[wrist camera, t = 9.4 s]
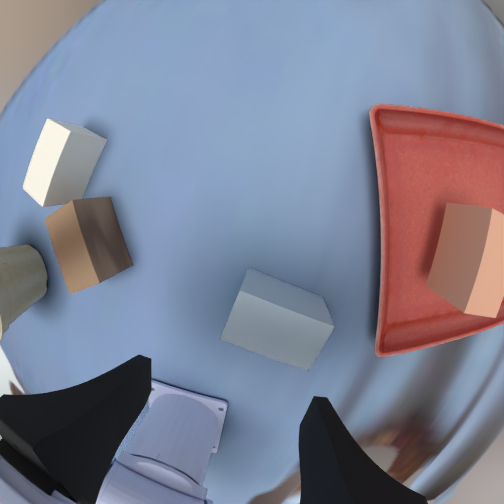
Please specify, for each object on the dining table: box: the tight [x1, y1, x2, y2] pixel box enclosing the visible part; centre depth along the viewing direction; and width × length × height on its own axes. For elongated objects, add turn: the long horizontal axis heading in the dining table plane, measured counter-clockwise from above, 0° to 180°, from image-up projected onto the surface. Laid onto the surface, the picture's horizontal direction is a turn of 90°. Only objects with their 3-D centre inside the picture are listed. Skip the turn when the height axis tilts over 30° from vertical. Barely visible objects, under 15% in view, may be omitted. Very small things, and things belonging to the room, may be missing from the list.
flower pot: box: [0, 245, 48, 341], centre depth 18 cm, size 9×9×9 cm
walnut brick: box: [45, 197, 133, 294], centre depth 18 cm, size 6×4×5 cm, turn 19°
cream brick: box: [23, 118, 107, 207], centre depth 17 cm, size 6×4×5 cm, turn 149°
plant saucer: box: [369, 104, 504, 357], centre depth 16 cm, size 18×18×3 cm
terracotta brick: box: [426, 203, 504, 318], centre depth 13 cm, size 6×4×5 cm, turn 169°
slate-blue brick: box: [220, 268, 335, 371], centre depth 18 cm, size 6×4×5 cm, turn 68°
